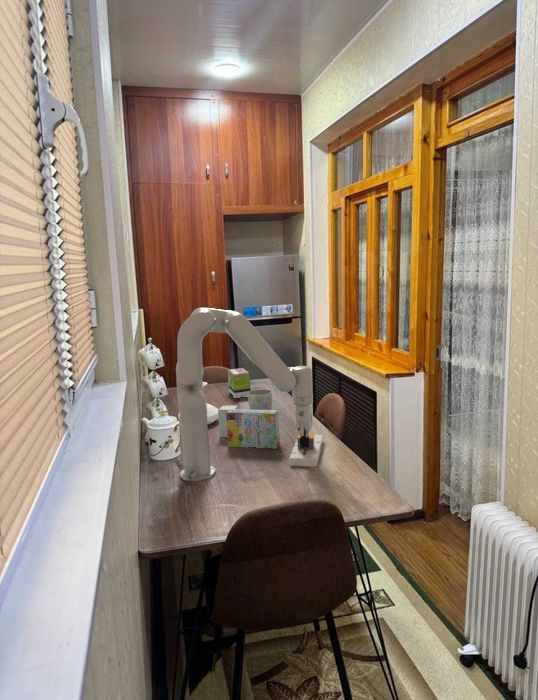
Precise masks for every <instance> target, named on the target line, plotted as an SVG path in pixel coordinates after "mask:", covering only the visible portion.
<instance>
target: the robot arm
mask: <svg viewBox="0 0 538 700" xmlns="http://www.w3.org/2000/svg"><path fill="white" fill-rule="evenodd" d="M210 332H211V333H219V334H228V335H229V337H231V339H232V340H233V341H234V343H235V344H236V345H237V346H238V347H239V348H240V350H241V351H242V352H243V353H244V355H246V356H247V358H248V359H249V361H251V362H252V363H253V364H255V365H256V366H257V367H258V368H259V369H260V370H261V371H262V372H263V373H264V374H265V376H266V377H267V378H268V379H269V381H270V383H271V384H272V385H273V386H274V387H275V388H277V390H278V391H280V392H283V393H289V392H291V393H292V394H291V396H292V404H293V406H295V421H296V423H295V424H296V431H297V432H299V434H300V447H301V448H308V447H309V436H308V434H309V432H311V430H312V428H313V427H312V426H313V414H312V413H313V412H312V405H313V403H314V394H313V374H312V373H313V372H312V369H311V367H310V366H306V365H297V366H287V365H286V363H284V361H283V360H282V359H281V358H280V356H279V355H278V354H277V353H276V352H275V351H274V349H273V348H272V347H271V346H270V344H269V343H268V342H267V341H266V339H265V338H264V337H263V336H262V335H261V334H260V332H259V331H258V330H257V329H256V328H255V327H254V325H253V324H252V323H251V322H250V321H249V319H248V318H247V317H246V316H245V315H244V314H243V313H241V312H239V311H235V310H224V309H216V308H210V307H198V308H195V309H194V310H193V311H192V312H191V314H190V316H189V317H188V318H187V319H185V320H184V322H183V323H182V324H181V326H180V328H179V329H178V333H177V339H176V340H177V343H176V344H177V347H176V348H177V349H176V350H177V351H176V352H177V355H176V356H177V357H176V358H177V363H176V366H175V378H176V381H175V382H176V394H177V395H176V396H177V407H178V414H179V416H180V421H179V425H180V426H179V428H180V436H181V437H180V439H181V449H182V460H183V469H182V470H181V471H180V473H179V476H180V479H182V480H183V481H185V482H186V481H187V482H201V480H202V481H206V480H208V479H211V478H212V477H213V475H214V476H215V474H216V468H215V467H214V466H212V465H211V453H210V440H209V438H210V437H209V430H208V428H209V427H208V425H207V404H208V403H207V399H206V396H205V394H204V387H203V382H204V381H203V377H204V370H205V369H204V364H203V339H204V338H205V337H206V335H207V334H208V333H210ZM206 403H207V404H206ZM210 477H211V478H210ZM205 479H206V480H205Z"/></svg>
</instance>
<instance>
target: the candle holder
mask: <svg viewBox="0 0 538 700" xmlns="http://www.w3.org/2000/svg"><path fill="white" fill-rule="evenodd" d="M202 382H203V388H204V387H206V386H207V385H208V382H206V381H202ZM206 404H207V426H208V425H211V424H212V423H214V422H215V421H216V420H217V419H219V416H218V410H219V408H217V407H215V405H212V404H209V403H207V402H206ZM177 417H178V421H179V422H180V416H179V413H178V414H177Z"/></svg>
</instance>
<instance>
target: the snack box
mask: <svg viewBox="0 0 538 700" xmlns="http://www.w3.org/2000/svg"><path fill="white" fill-rule="evenodd" d="M226 418H227V433H228V437H227V443H228V444H227V446H228V448H230V447H231V448H248V447H256V448H255V449H270V448H272V450H274V449H276V450H277V449H278V448H279V446H280V445H281V442H280V439H281V438H280V420H279V410H278V409H272V410H250V409H247V408H245V409H239V408H238V409H230V410H229V411H228V412H226Z"/></svg>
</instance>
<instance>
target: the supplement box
mask: <svg viewBox="0 0 538 700" xmlns="http://www.w3.org/2000/svg"><path fill="white" fill-rule="evenodd" d="M230 409H239V406H238V405H222V406H221V407H220V408H218V416H219V417H218V427H219V428H218V429H219V438H228V433H227V418H226V412H228V411H229V410H230Z"/></svg>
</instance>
